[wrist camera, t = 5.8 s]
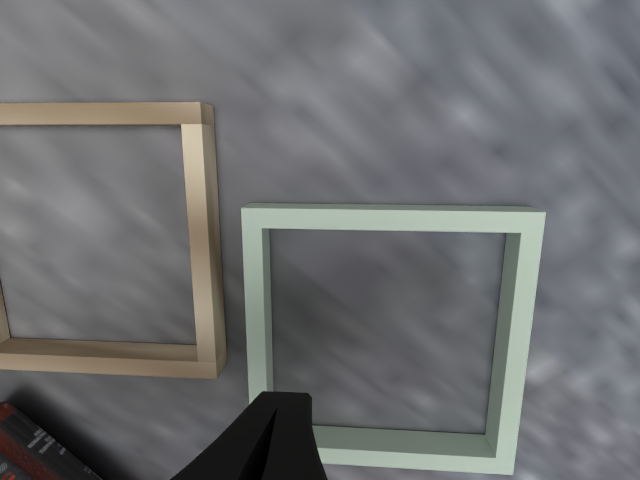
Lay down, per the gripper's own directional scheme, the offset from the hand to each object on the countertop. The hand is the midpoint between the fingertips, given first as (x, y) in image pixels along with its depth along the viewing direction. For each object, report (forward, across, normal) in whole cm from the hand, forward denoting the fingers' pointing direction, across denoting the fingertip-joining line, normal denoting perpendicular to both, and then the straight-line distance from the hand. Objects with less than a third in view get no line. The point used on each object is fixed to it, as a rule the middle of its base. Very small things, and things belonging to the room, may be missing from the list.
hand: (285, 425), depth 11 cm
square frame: (+8, -3, +1) cm, 9 cm away
